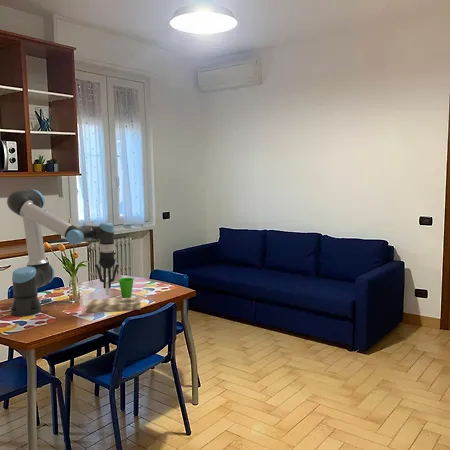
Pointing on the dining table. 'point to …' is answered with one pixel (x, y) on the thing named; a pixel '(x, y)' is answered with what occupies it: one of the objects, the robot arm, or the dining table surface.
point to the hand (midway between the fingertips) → (107, 294)
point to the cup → (126, 287)
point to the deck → (114, 304)
